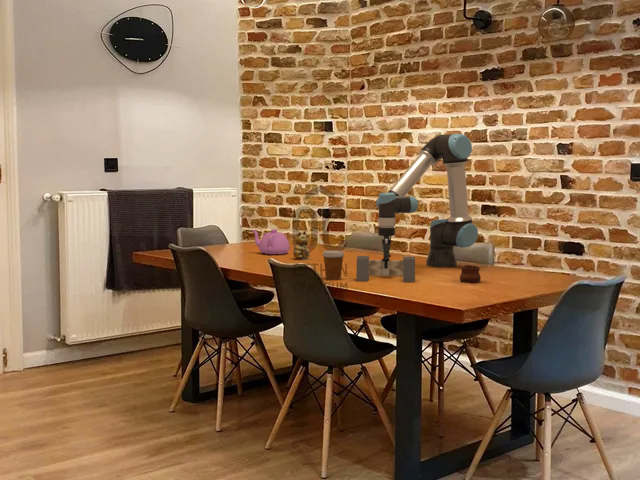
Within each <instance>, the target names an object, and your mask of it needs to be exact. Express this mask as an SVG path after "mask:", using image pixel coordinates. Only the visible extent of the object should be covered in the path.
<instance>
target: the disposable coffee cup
mask: <svg viewBox="0 0 640 480" xmlns="http://www.w3.org/2000/svg"><path fill="white" fill-rule="evenodd" d="M344 256H345V254H344V251H343V250H333V249H332V250H324V251H323V253H322V257H323V261H324V262H323V263H324V271H325V279H326V280H330V281H332V280H336V281H337V280H341V275H342V269H343V261H344Z"/></svg>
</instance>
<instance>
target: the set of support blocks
mask: <svg viewBox="0 0 640 480" xmlns="http://www.w3.org/2000/svg"><path fill="white" fill-rule="evenodd" d="M369 260H370V256H369V255H357V257H356V275H355V276H356V279H355V280H356V282H369V278H370V275H369ZM402 260H403V276H402V282H403V283H416V281H415V280H416V257H415V256H403V258H402Z"/></svg>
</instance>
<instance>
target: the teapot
mask: <svg viewBox="0 0 640 480" xmlns="http://www.w3.org/2000/svg"><path fill="white" fill-rule="evenodd" d="M251 231H252V232H253V233H254V243H255V245H256V246H257V247H258V250H259V252H260V253H262V254H263V253H265V255H266V254H270V255H276V254H281V255H286V254H287V253H288V252H289V251H290V249H291V247H290V242H289V240H288V238H287V237H286V235H285V233H283V232H278V229H275V228H273V229H271V230H270V232H265V233H264V234H263V236H262V238H261V239H260V238H259V233H258V231H257V230H255V229H251Z"/></svg>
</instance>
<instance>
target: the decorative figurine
mask: <svg viewBox="0 0 640 480" xmlns="http://www.w3.org/2000/svg"><path fill="white" fill-rule="evenodd" d="M310 235H311V234H310V233H307V231H306V230H303V231H302V232H301V231H299V232H298V233H297V234H296V236H295V238H294V241H295V245H294V247H293V250H292V254H293V257H294V258H295V259H296V260H299V259H300V260H302V261H303V260H308V259H309V257H311V254H310V249H309V248H308V247H307V246H308V245H309V239H308V237H310Z"/></svg>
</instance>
